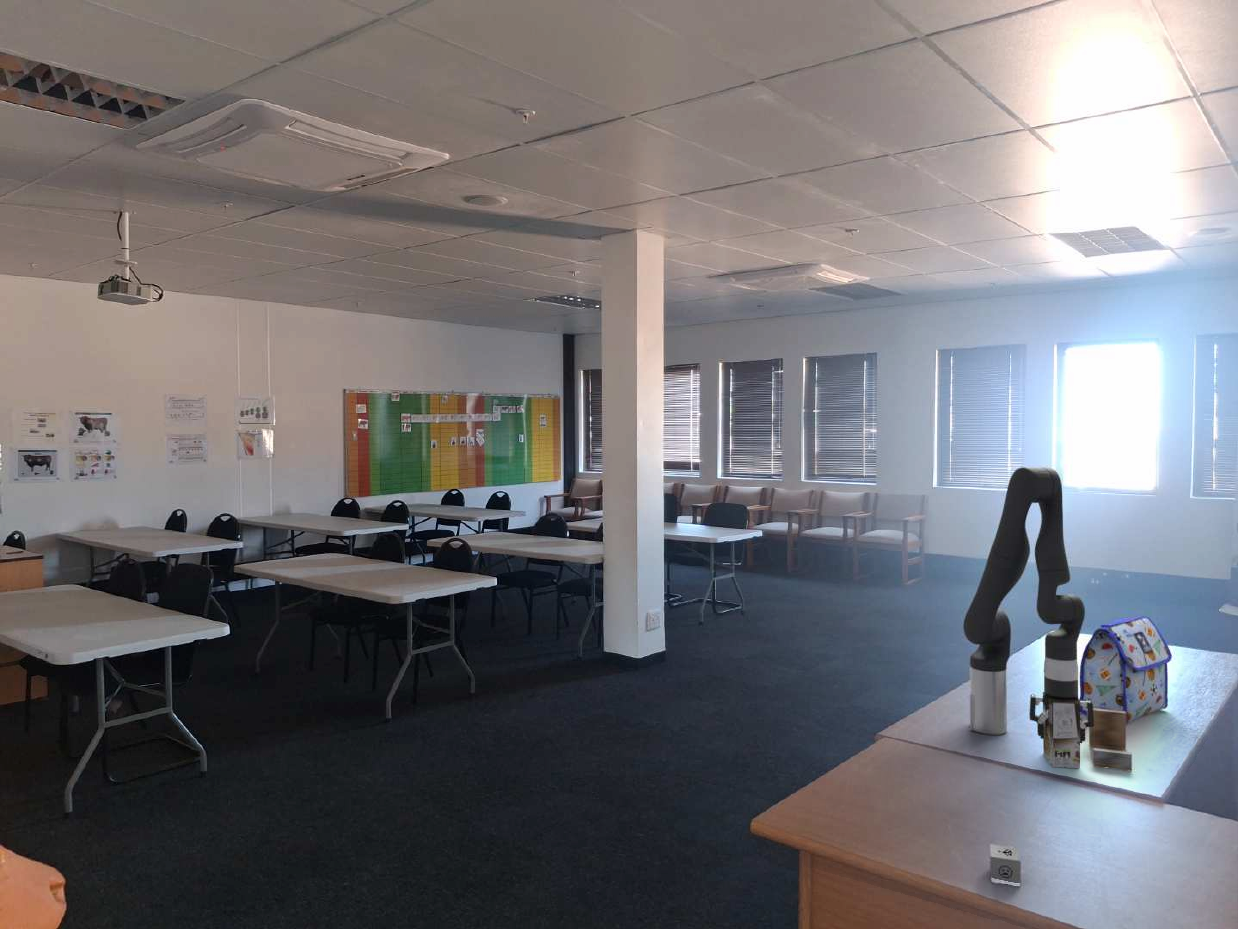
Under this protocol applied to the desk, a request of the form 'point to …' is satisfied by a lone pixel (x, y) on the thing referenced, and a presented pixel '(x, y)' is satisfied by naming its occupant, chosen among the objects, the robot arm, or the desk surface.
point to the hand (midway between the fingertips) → (1061, 740)
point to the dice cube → (1005, 863)
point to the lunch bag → (1126, 668)
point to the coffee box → (1062, 732)
